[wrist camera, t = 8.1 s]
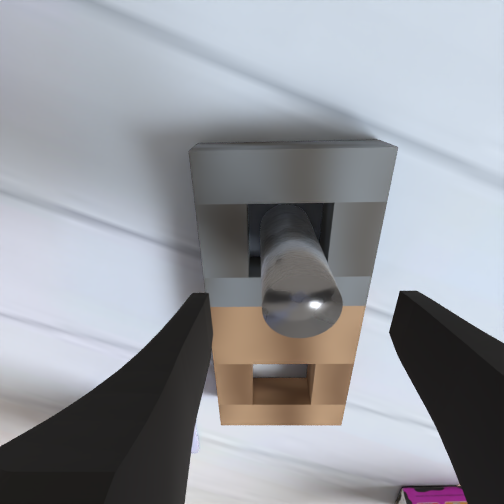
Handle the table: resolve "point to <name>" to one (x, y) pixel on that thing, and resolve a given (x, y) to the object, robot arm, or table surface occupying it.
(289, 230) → the pin
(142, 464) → the robot arm
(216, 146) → the dock board
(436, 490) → the candy bar box
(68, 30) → the table surface
